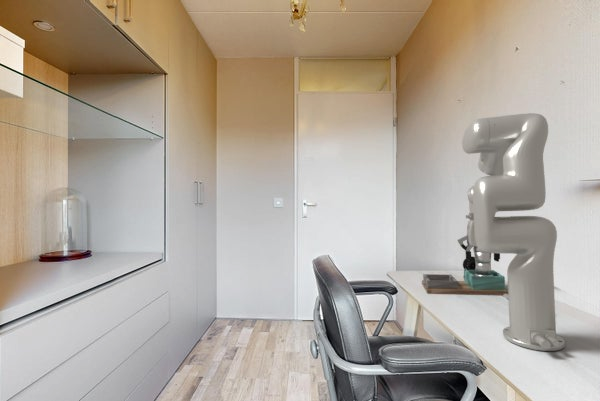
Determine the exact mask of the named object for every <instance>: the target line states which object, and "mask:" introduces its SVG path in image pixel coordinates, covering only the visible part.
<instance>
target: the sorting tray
mask: <svg viewBox="0 0 600 401" xmlns="http://www.w3.org/2000/svg"><path fill="white" fill-rule="evenodd" d="M491 271H492V276H475V270H464V269H463V279H464V280H457V278H455V277H454V276H453V275H452V274H434V273H432V274H429V273H428V274H423V275H422V277H423V280H421V284H422V287H423V288H424V290H425V292H426V293H427V295H428V294H429V295H431V294H432V295H434V294H436V295H471V296H474V295H475V296H502V295H504V294H508V289H506V278H505V276H504V275H502V274H501V273H499V272H497V271H496V270H494V269H491Z"/></svg>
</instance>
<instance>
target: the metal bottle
mask: <svg viewBox="0 0 600 401" xmlns="http://www.w3.org/2000/svg"><path fill="white" fill-rule="evenodd" d="M472 249H473V257H475V262H476V263H475V264H476V268H475V276H492V271H491V270H492V253H485V252H482V251H481V250H479V248H478V247H472Z"/></svg>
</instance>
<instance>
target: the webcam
mask: <svg viewBox="0 0 600 401" xmlns="http://www.w3.org/2000/svg"><path fill="white" fill-rule="evenodd" d="M475 263H476V262H475V256H472V255H471V262H469V261H468V260H467V259H466V258H465V259H464V260H463V262H462V268H463V271H464V270H475V268H476V264H475Z"/></svg>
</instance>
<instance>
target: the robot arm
mask: <svg viewBox="0 0 600 401" xmlns="http://www.w3.org/2000/svg"><path fill="white" fill-rule="evenodd" d="M548 136H549V123H548V120H547V118H546V117H545V116H544V115H543V114H540V113H519V114H518V113H517V114H508V115H499V116H491V117H482V118H478V119H474V120H473V121H472V122H471V123H470V124H469V125H468V126H467V127H466V129H465V130H464V131H463V136H462V139H461V140H462V141H461V145H462V150H463V151H464V153H465V154H469V155H470V154H479V158H478V163H477V167H478V169H479V170H480V172H482V173H483V174H485V176H482V177H480V178H478V179H477V180H476V181H475V183H474V185H472V186H470V187H469V189H468V191H467V200H468V201H469V202H468V203H469V204H468V205H469V208H468V209H469V214H466V215H465V218H466V219H468V220H469V221H467V228H466V235H465V236H463V237H460V238H459V239H457V243H458V244H459V246H460V247H461V248H462V249H463V250H464V252H465V259H467V260H468V261H469V262H471V256H472V251H471V249H473V247H478V248H479V250H481V251H482V252H485V253H491V254H493V260H494V262H496V263H497V262H498V263H499V262H500V259H501V254H514V255H515V256H514V257H513V259H512V260H511V261H510V262H509V264H508V266H507V270H506V272H507V273H506V275H507V276H506V278H507V291H508V299H507V300H508V317H509V320H508V321H509V325H508V326H507V327H504V328H503V329H502V335H503V338H505V340H507V341H508V342H510V343H513V344H514V345H517V346H519V347H523V348H525V349H530V350H535V351H543V352H556V351H561V350H563V349H564V348H565V346H566V344H565V343H566V342H565V340H564V338H562V337H561V336H560V335H558V334H557V327H556V326H557V321H556V302H555V301H556V300H555V282H554V280H555V277H554V275H555V274H554V260H555V259H554V258H555V250H556V244H557V238H558V233H557V232H558V231H557V228H556V226H555V224H554V223H553V222H552V221H551V220H550V219H548V218H546V217H542V216H538V215H511V216H496V214H497V213H498V212H524V211H535V210H539V209H540V208H542V207H543V206H544V204H545V202H546V196H547V195H546V179H545V165H544V164H545V163H544V151H545V148H546V143H547V140H548ZM465 241H466V244H467V245H465V244H464V242H465Z"/></svg>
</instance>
